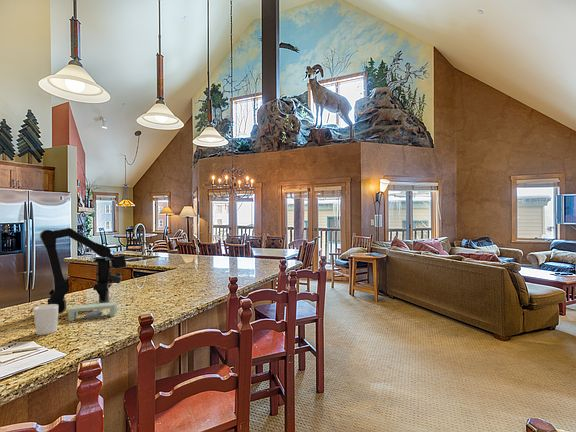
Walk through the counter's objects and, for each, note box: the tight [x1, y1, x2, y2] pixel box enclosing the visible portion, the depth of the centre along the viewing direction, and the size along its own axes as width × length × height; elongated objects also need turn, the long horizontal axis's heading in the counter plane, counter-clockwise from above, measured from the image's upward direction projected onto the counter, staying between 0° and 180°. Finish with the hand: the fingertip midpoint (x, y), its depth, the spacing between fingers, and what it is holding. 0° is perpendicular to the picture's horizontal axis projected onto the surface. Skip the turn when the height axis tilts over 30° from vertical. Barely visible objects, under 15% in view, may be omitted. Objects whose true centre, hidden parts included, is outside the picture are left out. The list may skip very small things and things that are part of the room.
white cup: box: [33, 303, 59, 336], centre depth 130 cm, size 8×8×10 cm
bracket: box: [67, 301, 118, 322], centre depth 149 cm, size 18×6×5 cm, turn 109°
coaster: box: [83, 311, 104, 320], centre depth 149 cm, size 6×6×2 cm
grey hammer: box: [91, 289, 110, 313], centre depth 164 cm, size 4×21×6 cm, turn 19°
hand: (104, 299), depth 172 cm, fingers closed on grey hammer, 4 cm apart
